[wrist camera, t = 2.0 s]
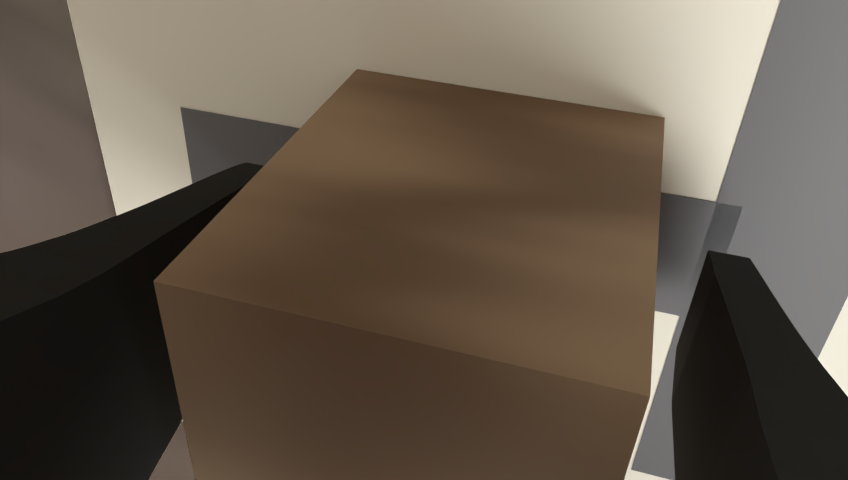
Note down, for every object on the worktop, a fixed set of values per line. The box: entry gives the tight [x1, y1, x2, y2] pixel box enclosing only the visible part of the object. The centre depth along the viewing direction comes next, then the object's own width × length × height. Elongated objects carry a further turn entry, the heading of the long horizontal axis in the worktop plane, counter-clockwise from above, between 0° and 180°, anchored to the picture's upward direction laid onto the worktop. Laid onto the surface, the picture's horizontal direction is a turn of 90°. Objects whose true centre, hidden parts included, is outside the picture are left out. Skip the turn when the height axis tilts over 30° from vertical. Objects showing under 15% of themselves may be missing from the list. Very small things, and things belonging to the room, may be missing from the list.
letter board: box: [67, 0, 848, 480], centre depth 14 cm, size 16×16×1 cm
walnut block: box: [153, 69, 665, 480], centre depth 11 cm, size 5×5×6 cm
